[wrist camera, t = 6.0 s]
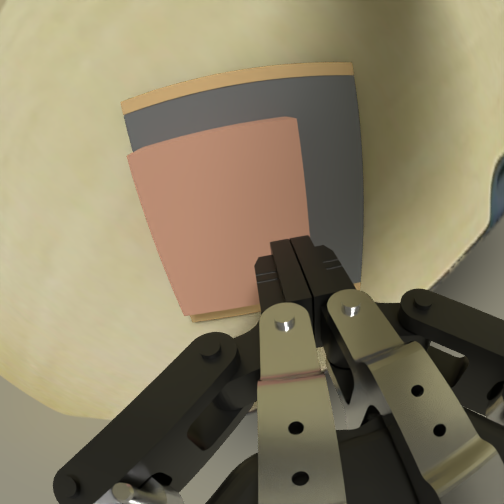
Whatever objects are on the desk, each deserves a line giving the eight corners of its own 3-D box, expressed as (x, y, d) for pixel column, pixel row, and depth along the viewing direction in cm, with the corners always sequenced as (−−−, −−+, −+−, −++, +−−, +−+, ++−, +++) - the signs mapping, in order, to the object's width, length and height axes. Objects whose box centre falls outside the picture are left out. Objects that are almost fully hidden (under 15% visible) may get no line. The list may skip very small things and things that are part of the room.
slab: (285, 116, 13) (142, 147, 14) (296, 118, 11) (126, 155, 11) (303, 269, 18) (188, 290, 19) (313, 293, 16) (184, 316, 16)
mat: (124, 101, 13) (120, 102, 12) (347, 63, 12) (351, 62, 12) (193, 316, 21) (192, 322, 20) (357, 285, 20) (359, 290, 20)
